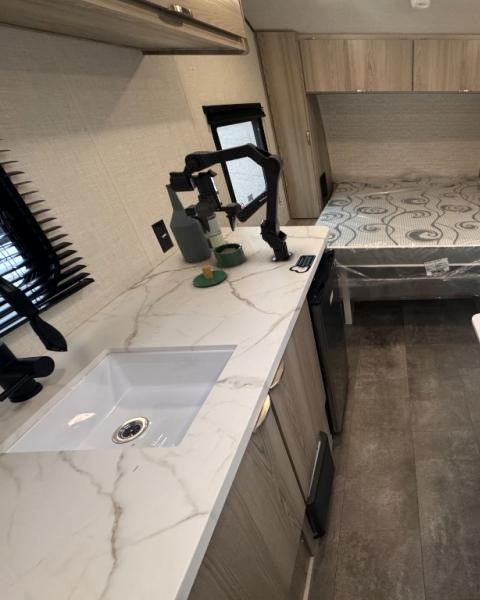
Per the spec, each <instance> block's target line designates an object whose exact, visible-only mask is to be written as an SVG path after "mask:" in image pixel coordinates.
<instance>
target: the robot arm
mask: <svg viewBox="0 0 480 600" xmlns="http://www.w3.org/2000/svg"><path fill="white" fill-rule="evenodd" d="M244 158H249V159H251V160H252V161H253V162H254V163H255V164H257V166H259V167H260V168H263V174H264V177H265V180H266V205H265V206H266V207H265V208H266V210H265V219H263V220H262V222H261V223H260V226H259V227H260V233H259V235H260V236H261V239H262V240H263V241H264V242H265V243H266V244H268V246H269V247H270V248H271V249H272V251H273V258H272V259H271V260H272V262H278V261H279V262H280V261H281V262H282V261H289V260H290V258H291V257H292V255H293V252H289V248H288V244H287V242H286V241H287V237H288V234H287V233H285V232H284V231H282V230H281V227H280V226H281V225H280V222H279V219H278V215H279V213H278V211H279V189H280V181H281V177H282V174H283V169H284V165H285V163H284V159H283V158H282V157H281V156H279V155H278V154H276V153H275V154H272V152H271V153H270V152H269V151H267V150H265V149H263V148H261V147H259V146H257V145H256V144H253V143H252V142H248V143H245V144H242V145H238V146H231V147H228V148H224V149H220V150H219V149H218V150H215V151H214V150H213V151H212V150H196V151H193V152H191V153H188V154H186V155H185V157H184V168H183V171H170V172H169V173H168V175H169V184H170V186H171V188H172V190H173V191H174V192H176V193H186V192H187V193H188V192H194V191H195V190H196V189H197V193H198V195H197V199H198V202H197V203H196V204H190V205H189V206H186V207H184V208H185V214H186V216H191V218H194V219H196V220H198V221H199V222H200V223H201V224H202V225H203V227H204V228H205V229H206V230H207V231H208V232H210V226H209V223H208V219H207V217H211V216H212V214H213V212H215V213H225V214H226V215H225V217H226V218H227V221H228V223H229V227H230V229H231V232H234V231H235V228H236V222H237V216H238V214H240V213H241V212H242V211H243V207H242V205H241V203H239V202H230V203H228V204H227V205H223V201H221V200H220V197H219V194H220V192H219V190H217V189H216V186H215V183H214V180H213V178H215V177H216V176H218V173H217V172H215V171H214V170H212V168H210V167H213V166H215V165H217V164H223V163H227V162H231V161H236V160H240V159H244ZM208 168H210V169H208ZM206 169H207V171H204V170H206ZM195 173H197V174H195Z"/></svg>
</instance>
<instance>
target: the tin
mask: <svg viewBox="0 0 480 600" xmlns="http://www.w3.org/2000/svg"><path fill="white" fill-rule="evenodd" d="M229 248H236V249H237V250H235V251H232V252H229V253H221V252H222V251H223V250H224V249H229ZM212 252H213V256H214V259H215V262H216V263H217V266H218V267H220V268H234V267H237V266H239V265H242V264H243V263H245V262H246V255H245V251H244V248H243V246H242V244H240V243H237V242H229V243H226V244H224V245H221V246H218V247H216V248H215V249H214V250H212Z"/></svg>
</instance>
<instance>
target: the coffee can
mask: <svg viewBox="0 0 480 600" xmlns="http://www.w3.org/2000/svg"><path fill="white" fill-rule="evenodd" d="M207 219H208V223H209V226H210V232H208V231H207V230H206V229H205V228H204V227H203V225H202V224H201V223H200V224H201V227H202V230H203V232H204V235H205V237H206V240H207V243H208V245H209V248H210V250H211V251H213V250H214V249H215V248H216V247H218V246H221V245H224V244H227V242H226V240H225V236H224V233H223V231H222V228H221V225H220V222H219V219H218V216H217V212H213V214H212V216H211V217H207Z"/></svg>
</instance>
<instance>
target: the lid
mask: <svg viewBox="0 0 480 600" xmlns="http://www.w3.org/2000/svg"><path fill="white" fill-rule="evenodd" d="M200 269H201V271H202V272H201V273H200V274H198V275H196V276H195V277H194V278H193V279H192V284H193V285H194V286H195V287H208V286H209V287H210V286H214V285H216V284H219V283H221V282H222V281H224V280H225V279H226V278H227V273H226V271H224V270H219V269H217V270H212V268H211V266H210V265H209V264H205V265H203V266H201V268H200Z"/></svg>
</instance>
